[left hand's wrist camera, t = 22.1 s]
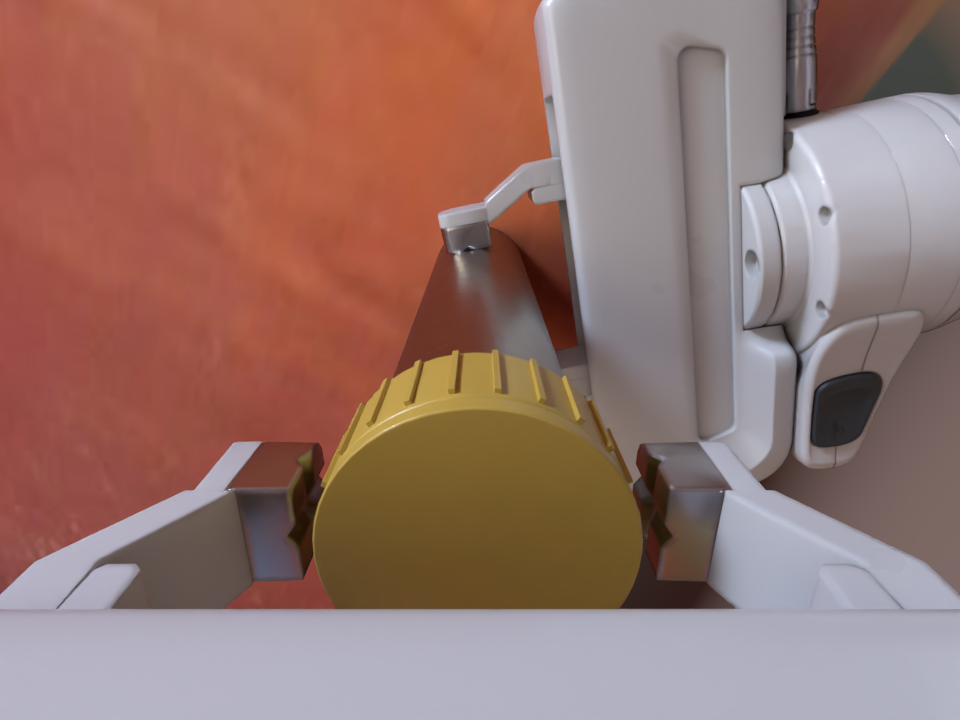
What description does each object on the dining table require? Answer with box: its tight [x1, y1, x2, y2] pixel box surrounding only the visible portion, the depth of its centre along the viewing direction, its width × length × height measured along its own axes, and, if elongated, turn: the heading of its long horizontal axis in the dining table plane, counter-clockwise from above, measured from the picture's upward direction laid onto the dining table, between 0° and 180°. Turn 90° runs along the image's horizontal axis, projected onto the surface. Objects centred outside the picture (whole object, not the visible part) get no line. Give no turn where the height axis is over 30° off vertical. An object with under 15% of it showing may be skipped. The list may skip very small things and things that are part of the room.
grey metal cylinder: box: [393, 227, 564, 378], centre depth 18 cm, size 4×4×19 cm
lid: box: [312, 350, 643, 609], centre depth 9 cm, size 5×5×2 cm
